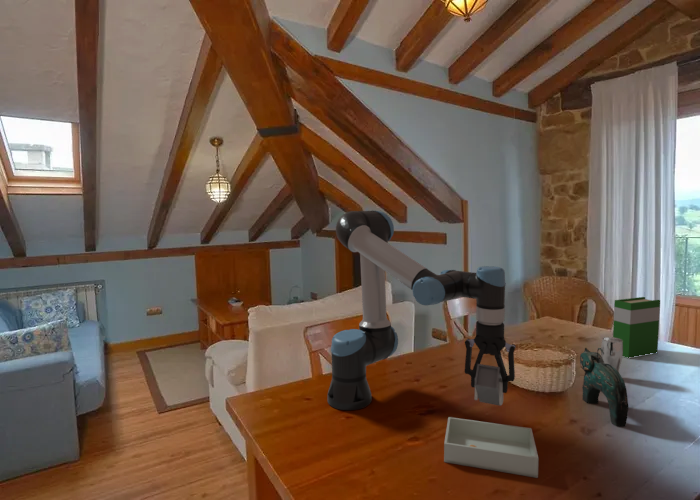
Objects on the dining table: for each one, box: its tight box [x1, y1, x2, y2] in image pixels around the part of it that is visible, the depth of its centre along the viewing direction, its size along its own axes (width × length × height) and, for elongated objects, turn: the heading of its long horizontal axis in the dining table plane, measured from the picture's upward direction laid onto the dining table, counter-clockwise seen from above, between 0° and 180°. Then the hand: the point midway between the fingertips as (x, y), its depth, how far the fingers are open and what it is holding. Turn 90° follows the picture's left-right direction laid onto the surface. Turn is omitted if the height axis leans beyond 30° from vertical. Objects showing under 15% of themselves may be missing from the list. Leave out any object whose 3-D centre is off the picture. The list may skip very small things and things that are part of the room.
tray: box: [443, 416, 539, 479], centre depth 107 cm, size 22×14×5 cm, turn 72°
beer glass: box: [600, 336, 623, 373], centre depth 153 cm, size 7×7×15 cm
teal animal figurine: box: [579, 347, 629, 427], centre depth 127 cm, size 20×6×20 cm, turn 178°
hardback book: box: [612, 296, 661, 359], centre depth 178 cm, size 18×7×24 cm, turn 109°
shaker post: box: [475, 363, 502, 407], centre depth 116 cm, size 6×6×13 cm
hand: (488, 400), depth 116 cm, fingers closed on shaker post, 6 cm apart
